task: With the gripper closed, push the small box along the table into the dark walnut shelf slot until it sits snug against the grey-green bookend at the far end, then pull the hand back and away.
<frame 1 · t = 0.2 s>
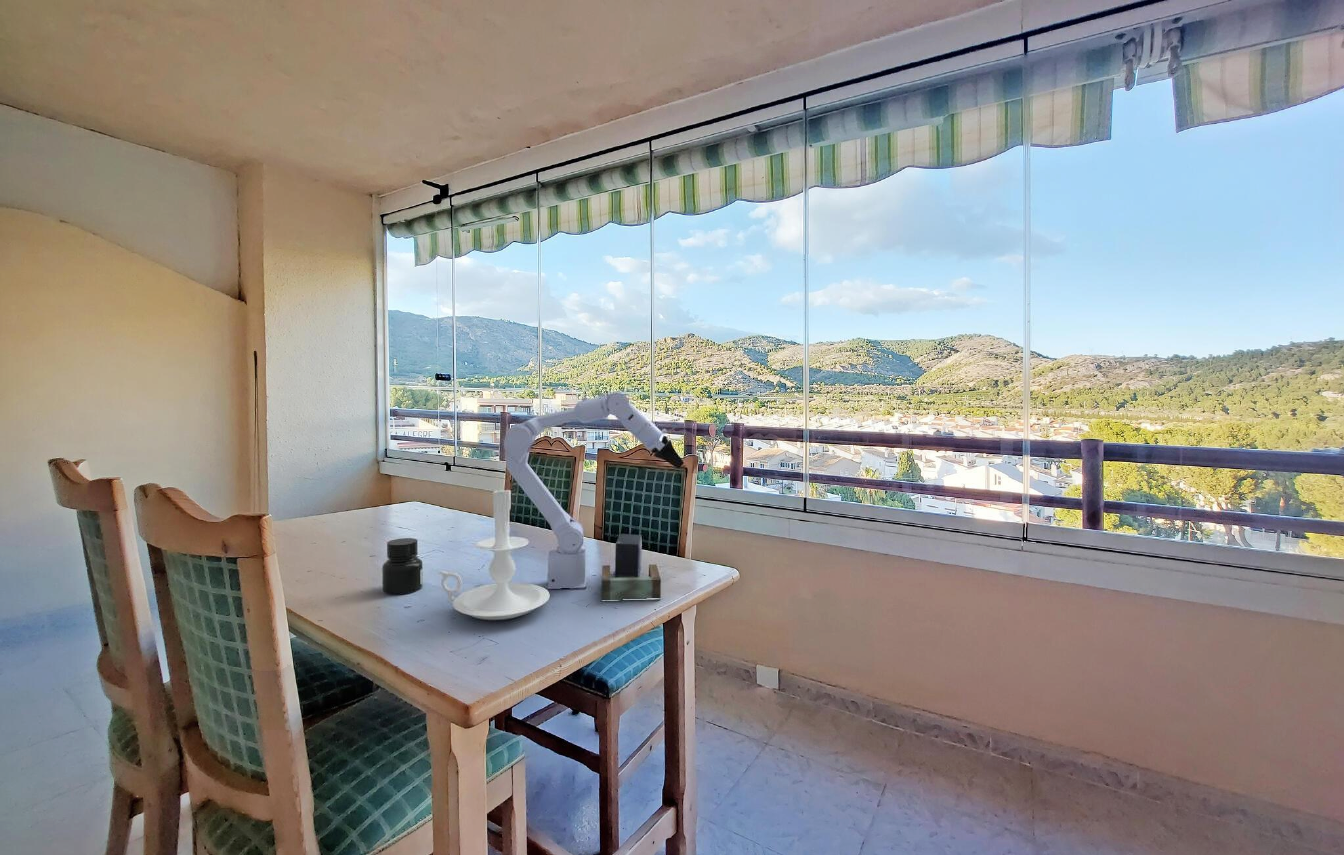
hand: (679, 463, 144), 31 cm above the table, tool tilted 45°, fingers open, 7 cm apart
small box: (628, 577, 149), on the table
ink bottle: (402, 590, 136), on the table
candlestick: (493, 612, 123), on the table
book slot: (630, 592, 137), on the table
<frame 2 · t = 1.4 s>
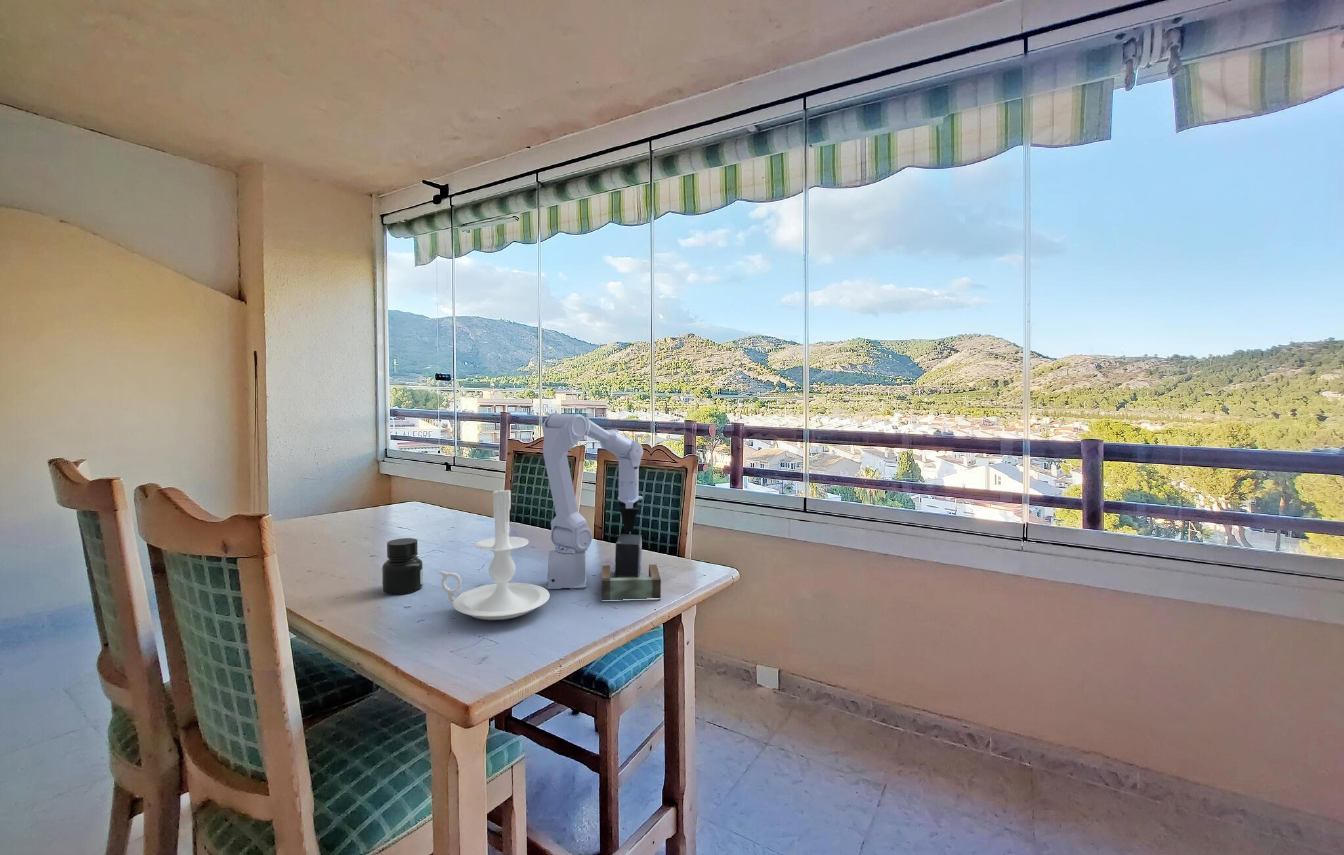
hand: (628, 528, 159), 11 cm above the table, tool pointing down, fingers open, 7 cm apart
nothing on the table moved.
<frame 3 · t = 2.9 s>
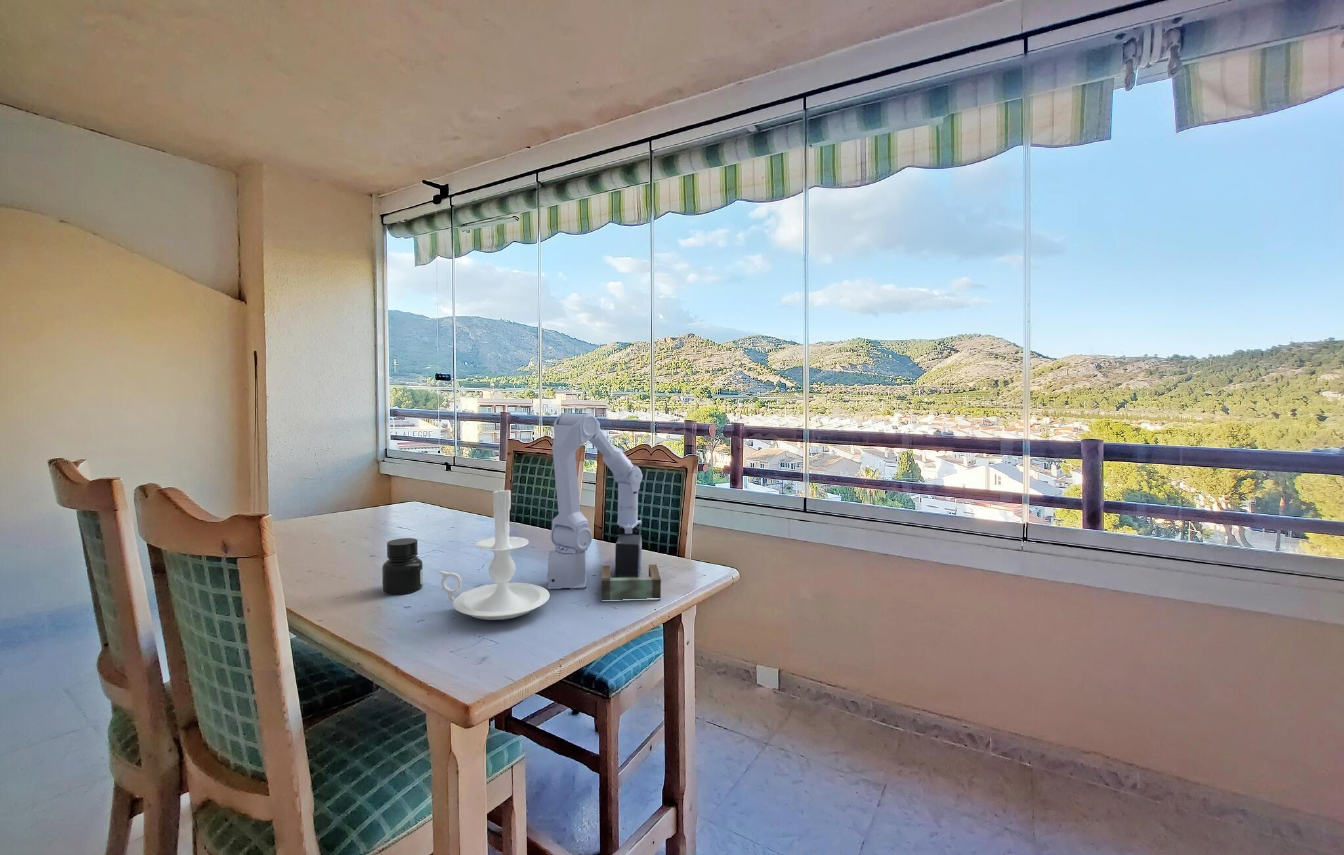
hand: (627, 552, 159), 3 cm above the table, tool pointing down, fingers closed
nothing on the table moved.
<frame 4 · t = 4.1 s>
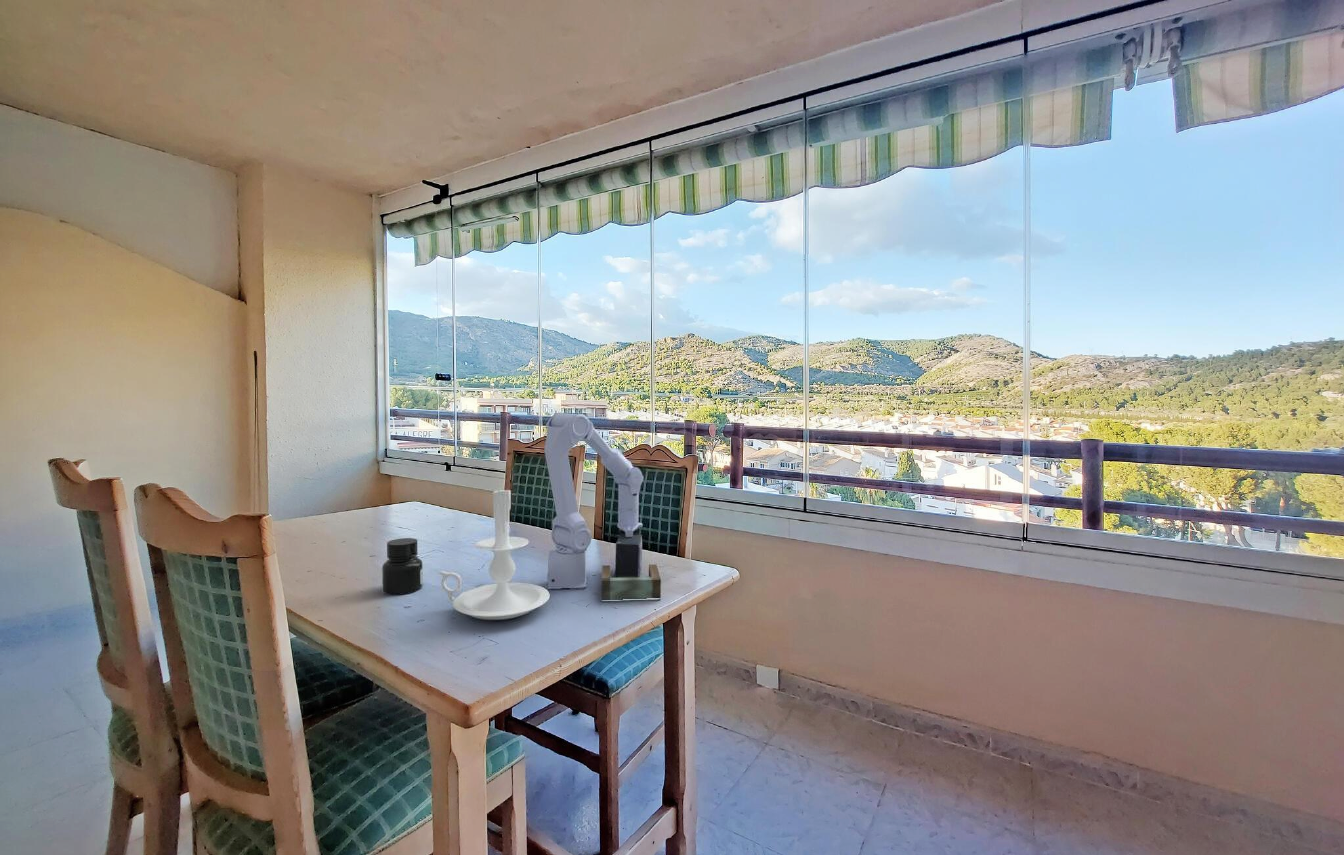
hand: (628, 555, 156), 3 cm above the table, tool pointing down, fingers closed
small box: (628, 577, 148), on the table, touching gripper
everything else where it was.
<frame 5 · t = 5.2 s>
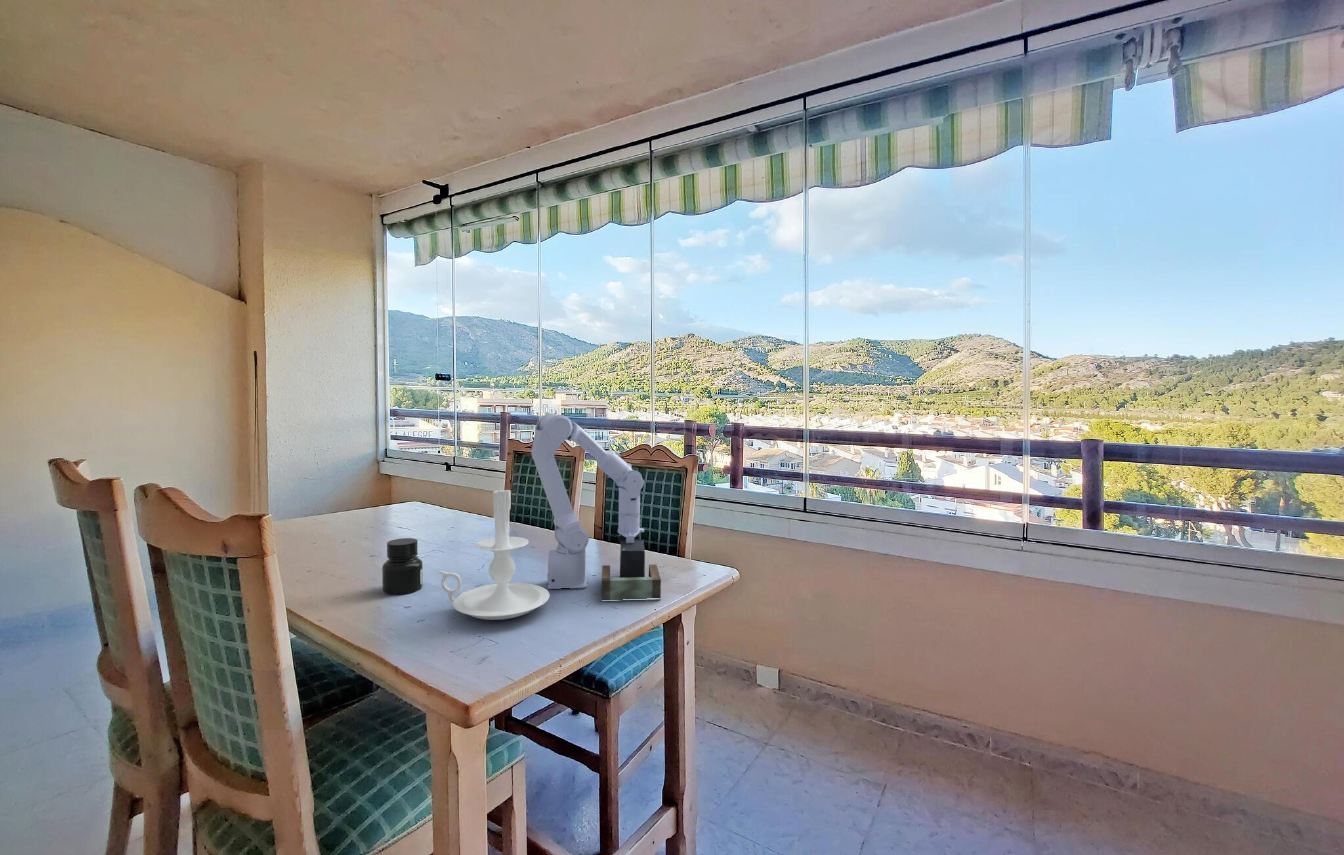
hand: (628, 562, 149), 3 cm above the table, tool pointing down, fingers closed
small box: (631, 585, 142), on the table, touching gripper
everything else where it was.
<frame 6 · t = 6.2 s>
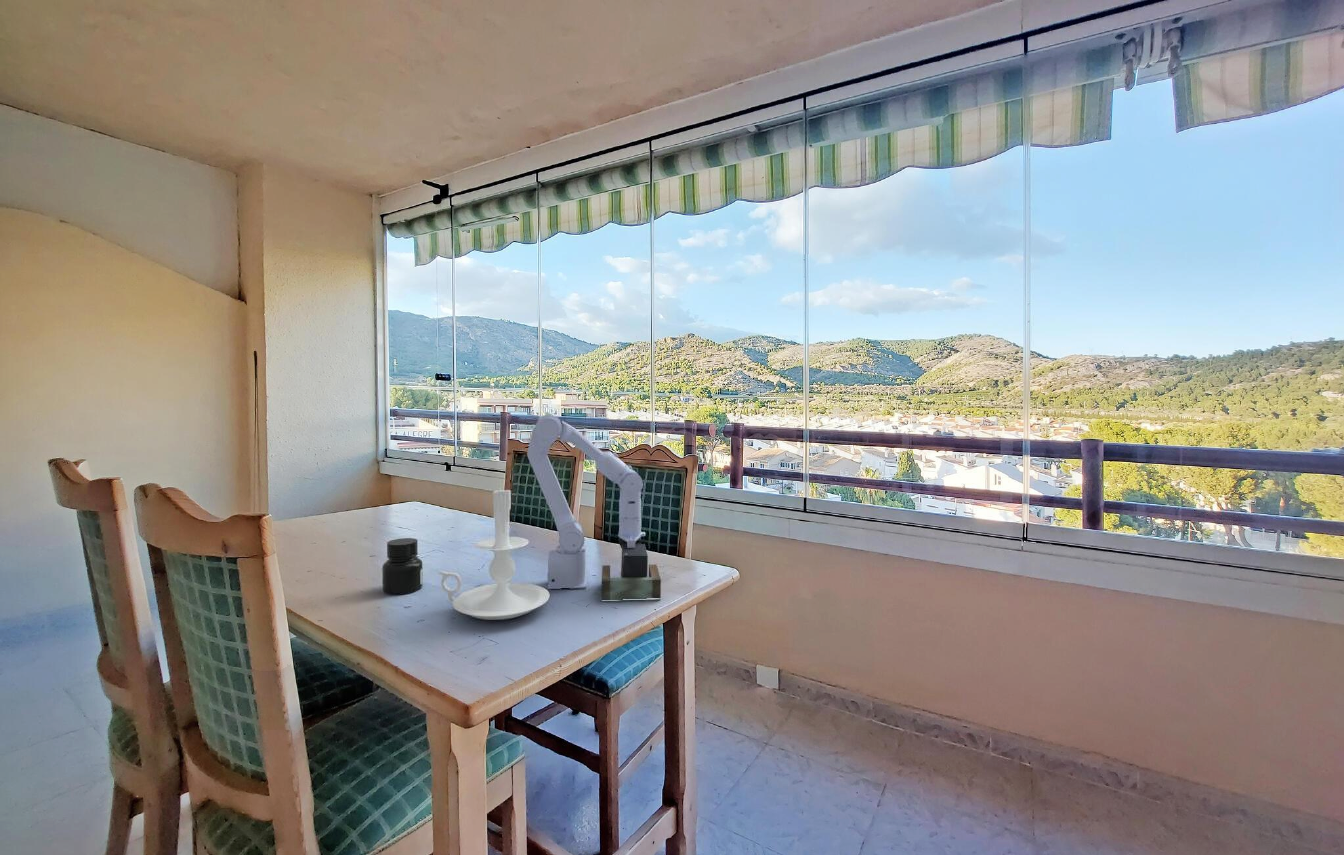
hand: (629, 567, 145), 4 cm above the table, tool pointing down, fingers closed
small box: (633, 590, 138), on the table, touching book slot, gripper
everything else where it was.
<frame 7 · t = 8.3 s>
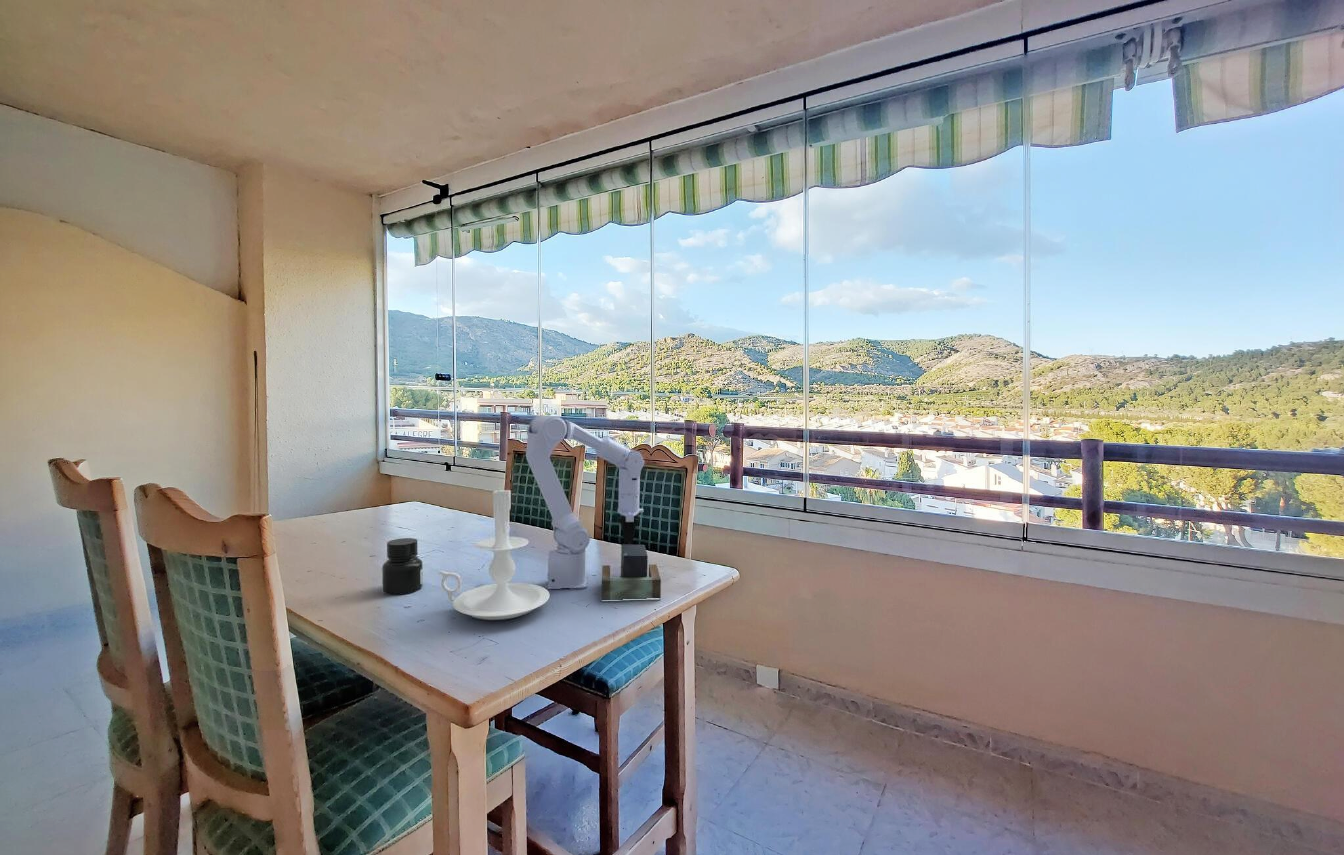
hand: (628, 542, 151), 9 cm above the table, tool pointing down, fingers closed
small box: (633, 591, 138), on the table
everything else where it was.
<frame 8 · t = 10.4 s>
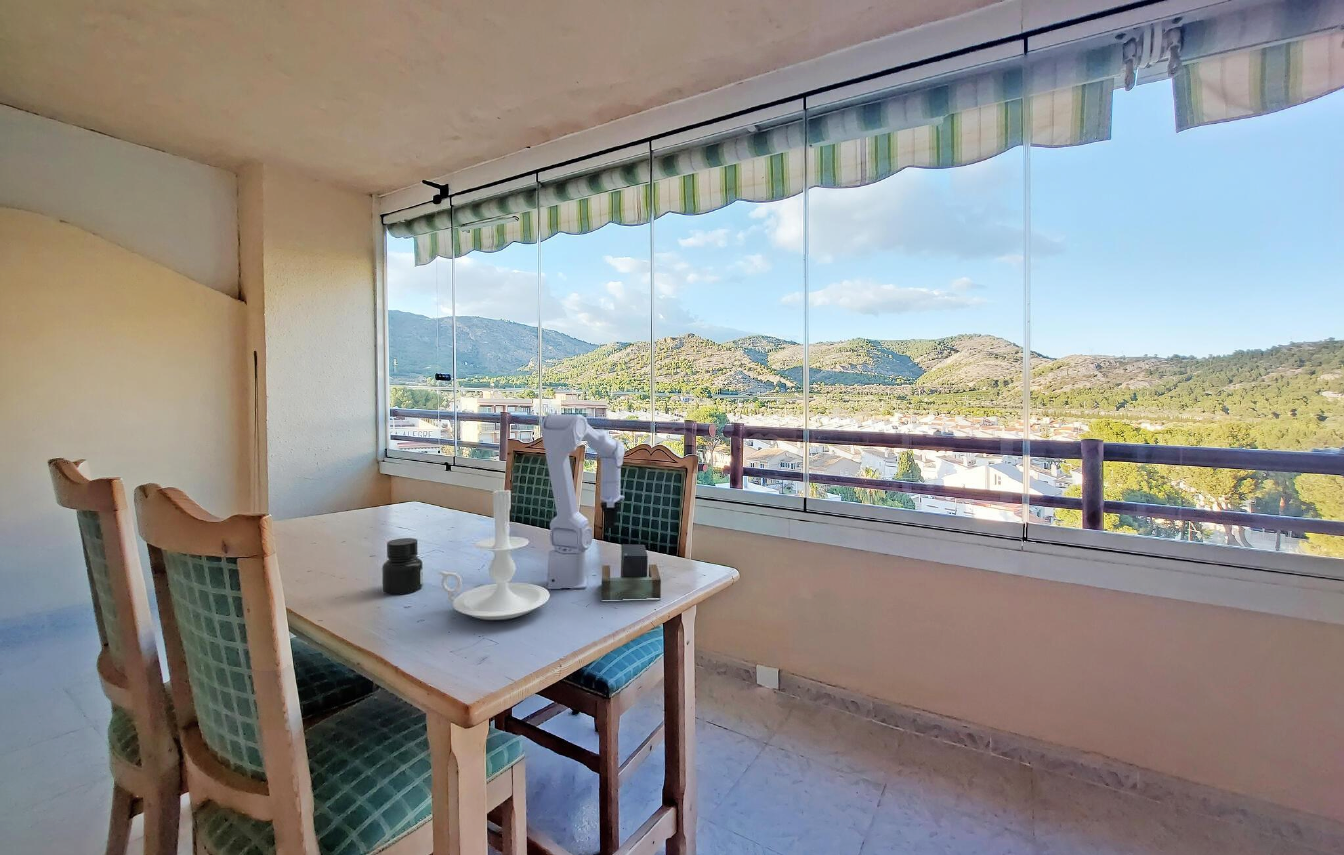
hand: (610, 527, 160), 10 cm above the table, tool pointing down, fingers closed
nothing on the table moved.
at the end: small box 1.0 cm from the target spot, on the table; small box tilted 0°; small box moved 10.7 cm from its start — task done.
